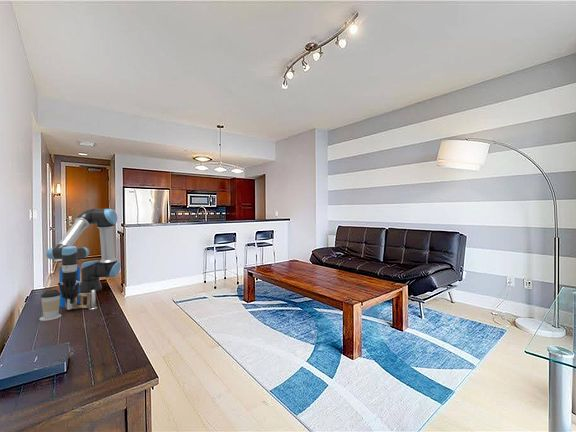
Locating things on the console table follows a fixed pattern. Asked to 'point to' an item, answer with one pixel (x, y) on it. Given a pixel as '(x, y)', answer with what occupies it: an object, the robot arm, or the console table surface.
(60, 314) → the coaster
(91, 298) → the hinge post
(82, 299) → the gate
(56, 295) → the coffee cup
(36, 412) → the console table surface
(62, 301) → the thermos
